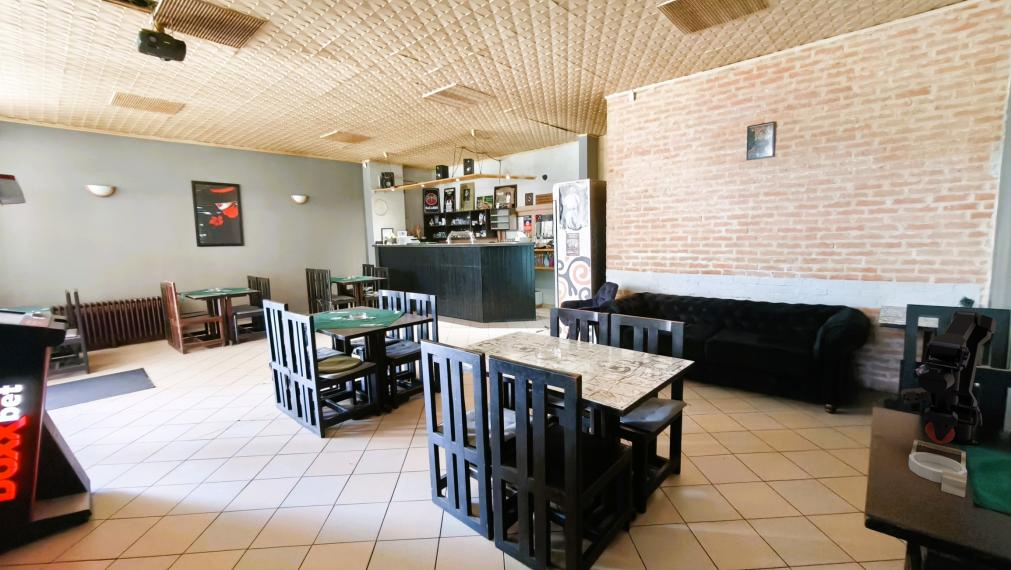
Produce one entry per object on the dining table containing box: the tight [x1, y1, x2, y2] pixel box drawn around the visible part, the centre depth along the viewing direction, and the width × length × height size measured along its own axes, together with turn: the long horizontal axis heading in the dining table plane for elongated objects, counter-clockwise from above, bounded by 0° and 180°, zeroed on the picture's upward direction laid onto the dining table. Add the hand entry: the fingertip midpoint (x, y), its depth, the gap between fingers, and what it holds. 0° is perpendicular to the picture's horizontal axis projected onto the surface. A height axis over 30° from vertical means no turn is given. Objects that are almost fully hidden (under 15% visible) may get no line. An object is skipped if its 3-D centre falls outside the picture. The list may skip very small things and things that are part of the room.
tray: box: [910, 438, 967, 469], centre depth 120 cm, size 11×11×1 cm
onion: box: [924, 421, 955, 445], centre depth 119 cm, size 6×6×8 cm
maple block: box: [940, 470, 967, 498], centre depth 105 cm, size 4×4×4 cm
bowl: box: [908, 451, 968, 484], centre depth 112 cm, size 11×11×3 cm
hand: (939, 436), depth 119 cm, fingers closed on onion, 6 cm apart
